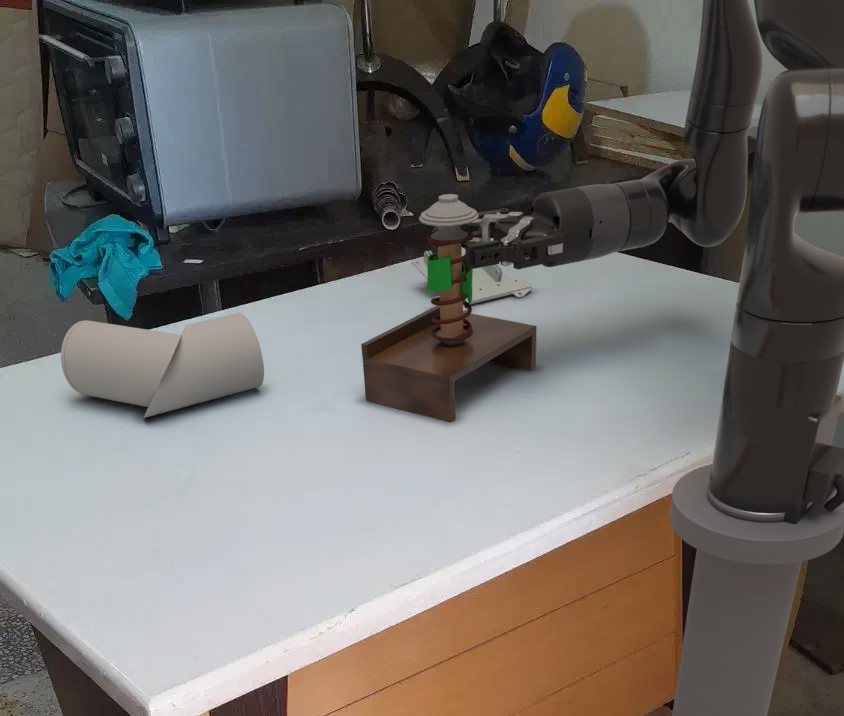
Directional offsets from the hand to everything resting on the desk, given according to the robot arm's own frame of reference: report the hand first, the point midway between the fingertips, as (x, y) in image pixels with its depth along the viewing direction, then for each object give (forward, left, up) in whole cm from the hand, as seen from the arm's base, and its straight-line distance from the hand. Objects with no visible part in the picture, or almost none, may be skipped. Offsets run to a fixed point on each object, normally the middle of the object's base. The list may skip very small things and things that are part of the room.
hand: (449, 248), depth 110 cm
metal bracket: (+18, -29, -15) cm, 37 cm away
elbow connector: (+28, +20, -15) cm, 38 cm away
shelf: (0, 0, -15) cm, 15 cm away
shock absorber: (0, 0, -10) cm, 10 cm away
